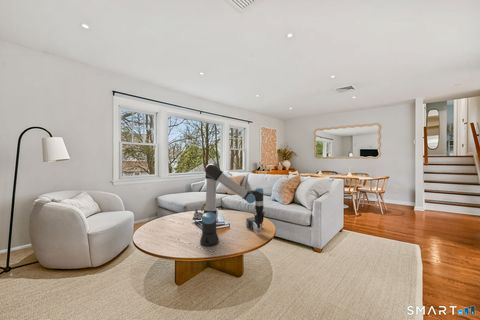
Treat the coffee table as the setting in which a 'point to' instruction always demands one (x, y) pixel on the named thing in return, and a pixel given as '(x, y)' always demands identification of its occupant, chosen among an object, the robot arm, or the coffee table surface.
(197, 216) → the sign
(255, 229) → the side door
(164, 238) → the coffee table surface
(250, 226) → the camera body
